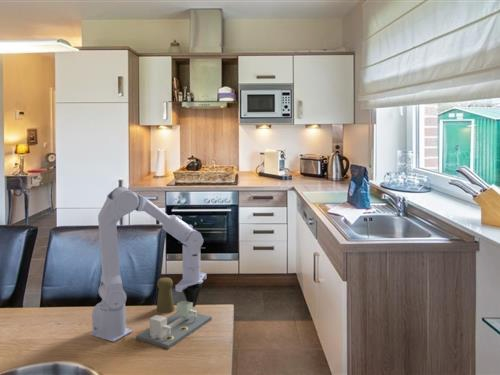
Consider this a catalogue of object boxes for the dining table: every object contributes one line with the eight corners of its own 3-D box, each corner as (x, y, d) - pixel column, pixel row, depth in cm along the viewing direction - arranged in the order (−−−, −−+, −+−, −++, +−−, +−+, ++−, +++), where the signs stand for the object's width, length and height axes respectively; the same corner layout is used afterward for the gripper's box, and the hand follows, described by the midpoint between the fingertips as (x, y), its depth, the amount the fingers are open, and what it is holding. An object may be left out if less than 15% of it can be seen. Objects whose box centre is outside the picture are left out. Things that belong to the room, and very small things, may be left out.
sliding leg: (177, 317, 145) (176, 303, 144) (182, 314, 147) (182, 300, 147) (193, 322, 142) (193, 307, 141) (199, 318, 144) (199, 304, 144)
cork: (172, 313, 152) (172, 281, 150) (154, 313, 152) (154, 281, 150) (175, 306, 158) (175, 275, 156) (158, 306, 158) (157, 275, 156)
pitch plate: (136, 338, 133) (135, 318, 133) (181, 312, 153) (181, 294, 152) (168, 348, 128) (168, 327, 127) (211, 319, 147) (211, 301, 146)
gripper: (188, 274, 138) (188, 316, 140) (214, 261, 151) (214, 301, 153) (169, 270, 141) (170, 312, 143) (196, 258, 154) (196, 297, 156)
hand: (191, 306), depth 148 cm, fingers closed
